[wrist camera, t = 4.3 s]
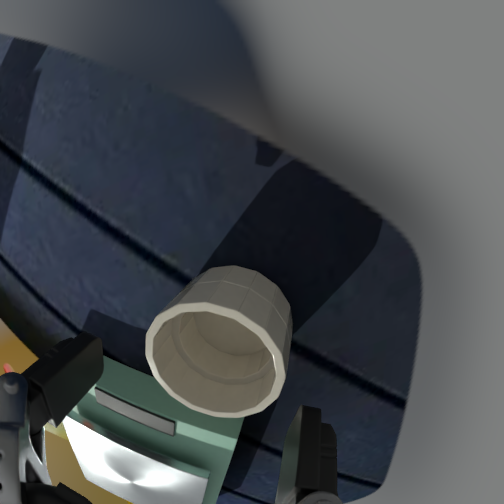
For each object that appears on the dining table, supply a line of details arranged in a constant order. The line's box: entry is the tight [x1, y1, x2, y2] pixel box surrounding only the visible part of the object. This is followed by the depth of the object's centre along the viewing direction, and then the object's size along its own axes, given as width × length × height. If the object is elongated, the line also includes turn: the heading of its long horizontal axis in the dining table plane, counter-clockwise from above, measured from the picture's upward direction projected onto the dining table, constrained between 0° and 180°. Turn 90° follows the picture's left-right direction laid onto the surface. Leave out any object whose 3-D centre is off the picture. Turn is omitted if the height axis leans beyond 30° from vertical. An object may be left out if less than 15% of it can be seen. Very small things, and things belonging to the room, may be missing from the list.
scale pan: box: [62, 410, 211, 504], centre depth 19 cm, size 12×12×1 cm
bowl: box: [145, 265, 293, 418], centre depth 15 cm, size 6×6×5 cm
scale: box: [72, 356, 244, 504], centre depth 21 cm, size 14×16×3 cm
